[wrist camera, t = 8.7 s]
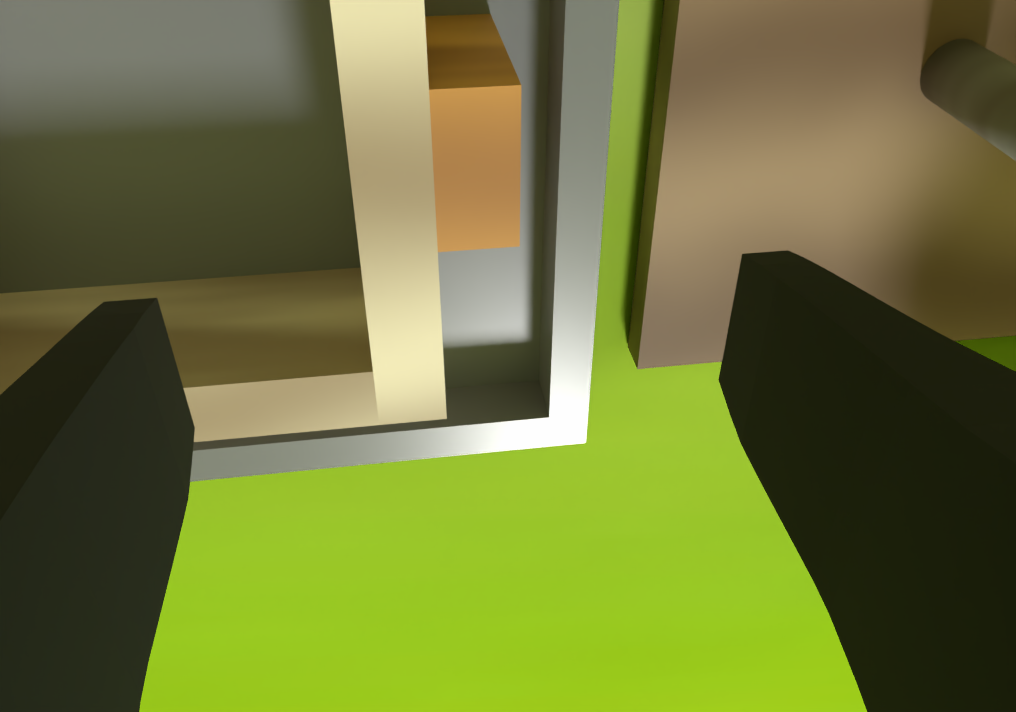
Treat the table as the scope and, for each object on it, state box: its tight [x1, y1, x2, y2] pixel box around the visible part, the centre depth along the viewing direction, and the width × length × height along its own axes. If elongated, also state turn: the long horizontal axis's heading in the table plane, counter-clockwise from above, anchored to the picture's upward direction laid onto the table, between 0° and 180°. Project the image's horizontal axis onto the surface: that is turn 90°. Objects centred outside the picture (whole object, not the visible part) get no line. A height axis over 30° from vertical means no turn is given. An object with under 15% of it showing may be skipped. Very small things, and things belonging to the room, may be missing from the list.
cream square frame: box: [0, 0, 521, 442], centre depth 16 cm, size 11×12×4 cm
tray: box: [0, 0, 619, 482], centre depth 17 cm, size 18×18×2 cm
